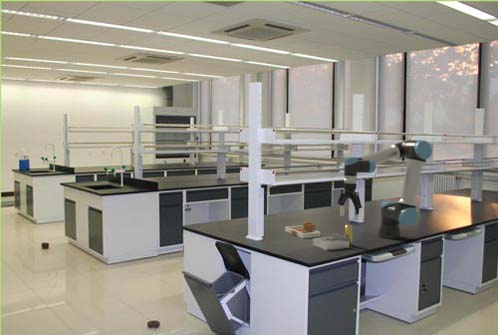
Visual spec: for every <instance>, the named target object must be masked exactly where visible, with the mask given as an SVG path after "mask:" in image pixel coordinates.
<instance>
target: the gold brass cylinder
mask: <svg viewBox="0 0 498 335" xmlns="http://www.w3.org/2000/svg"><path fill="white" fill-rule="evenodd" d="M353 232H354V231H353V224H345V225H344V236H345V237H348V238H349V247H350V246H351V247H352V246H353V234H354V233H353Z"/></svg>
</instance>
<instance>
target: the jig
mask: <svg viewBox="0 0 498 335" xmlns="http://www.w3.org/2000/svg"><path fill="white" fill-rule="evenodd" d="M312 238H313V239H312V245H313V246H314V247H317V248H319V249H323V250H324V251H335V250H341V249H349V248H350V246H349V238H348V237H345V235H343V234H341V233H340V234H339V233H336V232H334V233H333V232H331V236H323V237H321V236H320V237H312Z"/></svg>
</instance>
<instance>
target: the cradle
mask: <svg viewBox="0 0 498 335" xmlns="http://www.w3.org/2000/svg"><path fill="white" fill-rule="evenodd" d="M294 229H303V224H302V225H292V226H291V225H290V226H284V232H286V233H288V234H291V230H294ZM294 231H296V232H297V236H296V237H298V238H301V239H308V238H321V231H318V230H316V229H315V230H312V232H311V233H302V232H299V231H297V230H294Z"/></svg>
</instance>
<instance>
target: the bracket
mask: <svg viewBox="0 0 498 335" xmlns="http://www.w3.org/2000/svg"><path fill="white" fill-rule="evenodd" d="M302 226H303V229H294V230H297V231H299V232H302V233H311V232H312V230H316V223H314V222H310V221H309V222H306V221H305V222H303V223H302ZM294 230H291V233H290V234H291V236H295V237H298V236H297V232H296V231H294Z"/></svg>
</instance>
